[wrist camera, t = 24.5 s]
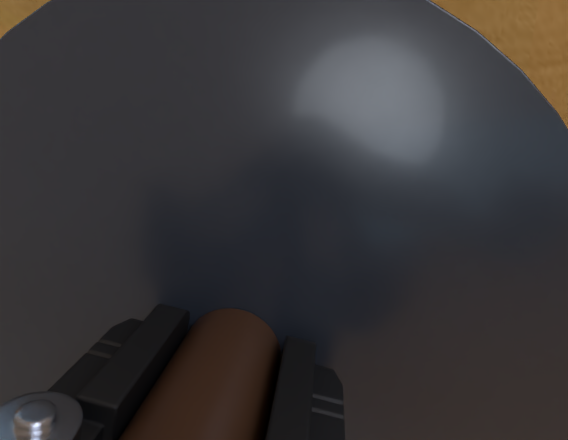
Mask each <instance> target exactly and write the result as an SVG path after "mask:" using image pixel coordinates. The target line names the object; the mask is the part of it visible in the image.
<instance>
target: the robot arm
mask: <svg viewBox="0 0 568 440" xmlns="http://www.w3.org/2000/svg"><path fill="white" fill-rule="evenodd" d="M189 319H190V312H189V311H188V310H184V309H180V308H176V307H172V306H168V305H164V304H158V305H157V306H156V307H155V308H154V309H153V310H152V312H151V313H150V314H149V315H148V316H147V317H146V318H145V319H144V320H143V321H141V320H137V319H133V318H131V319H128V320H126V321H124V322H122V323H119V324H117V325H115V326H113V327H111V328H110V329H109V330H108V331H107V332H106V333H105V334H104V335H103V336H102V337H101V338H100V340H99V342H96V343H95V344H94V345H93V346H92V347H91V348H90V349H89V351H88V353H85V354H84V355H83V356H82V357H81V358H80V359H79V360H78V361H77V362H76V363H75V364H74V365H73V366H72V367H71V368H70V369H69V370H68V371H67V372H66V373H65V374H64V375H63V376H62V377H61V378H60V379H59V380H58V381H57V382H56V383H55V384H54V385H53V386H52V387H51V388H50V389H49V390H48V391H40V392H33V393H28V394H24V395H21V396H18V397H15V398H13V399H10V400H9V401H7V402H5V403H3V404H2V405H0V440H118V439H119V438H120V436H121V435H122V433H123V431H124V430H125V428H126V427H127V425H128V424H129V422H130V421H131V419H132V418H133V416H134V415H135V413H136V411H137V410H138V408H139V407H140V405H141V404H142V402H143V401H144V399H145V398H146V396H147V395H148V393H149V391H150V390H151V388H152V387H153V385H154V384H155V382H156V381H157V379H158V378H159V376H160V375H161V373H162V371H163V370H164V368H165V367H166V365H167V364H168V362H169V361H170V359H171V358H172V356H173V355H174V353H175V351H176V350H177V348H178V347H179V345H180V344H181V342H182V341H183V339H184V338H185V336H186V335H187V331H188V325H189ZM315 353H316V343H315V342H311V341H307V340H303V339H299V338H295V337H291V336H286V340H285V344H284V348H283V352H282V356H281V360H280V365H279V370H278V375H277V380H276V385H275V390H274V395H273V400H272V404H271V409H270V414H269V419H268V424H267V429H266V434H265V439H264V440H345V421H344V405H343V403H344V397H343V385H342V383H341V381H340V380H339V378H338V376H337V374H336V373H335V371H334V369H330V368H326V367H322V366H318V365H315Z"/></svg>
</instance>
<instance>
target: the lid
mask: <svg viewBox="0 0 568 440" xmlns="http://www.w3.org/2000/svg"><path fill="white" fill-rule="evenodd" d="M158 304H164V305H168V306H172V307H176V308H180V309H184V310H188V311H189V312H190V319H189V325H188V331H187V335H186V336H185V338H184V339H183V341H182V342H181V344H180V345H179V347H178V348H177V350H176V351H175V353H174V355H173V356H172V358H171V359H170V361H169V362H168V364H167V365H166V367H165V368H164V370H163V371H162V373H161V375H160V376H159V378H158V379H157V381H156V382H155V384H154V385H153V387H152V388H151V390H150V391H149V393H148V395H147V396H146V398H145V399H144V401H143V402H142V404H141V405H140V407H139V408H138V410H137V411H136V413H135V415H134V416H133V418H132V419H131V421H130V422H129V424H128V425H127V427H126V428H125V430H124V431H123V433H122V435H121V436H120V438H119V439H118V440H264V439H265V434H266V429H267V424H268V419H269V414H270V409H271V404H272V400H273V395H274V390H275V385H276V380H277V375H278V370H279V365H280V360H281V356H282V352H283V348H284V344H285V340H286V336H291V337H295V338H299V339H303V340H307V341H311V342H315V343H316V353H315V365H318V366H322V367H326V368H330V369H334V371H335V373H336V374H337V376H338V378H339V380H340V381H341V383H342V385H343V397H344V403H343V405H344V421H345V440H568V129H567V127H566V125H565V124H564V122H563V120H562V119H561V117H560V116H559V114H558V112H557V111H556V110H555V109H554V108H553V106H552V105H551V104H550V103H549V102H548V101H547V99H546V98H545V97H544V96H543V95H542V93H541V92H540V91H539V90H538V89H537V87H536V86H535V85H534V84H533V83H532V82H531V80H530V79H529V78H528V77H527V76H526V74H525V73H524V72H523V71H522V70H521V69H520V68H519V67H518V66H517V65H516V64H515V63H513V62H512V61H511V60H510V59H509V58H508V57H507V56H505V55H504V54H503V53H502V52H501V51H500V50H499V49H497V48H496V47H495V46H494V45H493V44H492V43H491V42H490V41H488V40H487V39H486V38H485V37H484V36H483V35H482V34H480V33H479V32H478V31H477V30H475V29H474V28H472V27H471V26H469V25H468V24H466V23H464V22H463V21H461V20H460V19H458V18H457V17H455V16H454V15H452V14H450V13H449V12H447V11H446V10H444V9H443V8H441V7H440V6H438V5H436V4H435V3H433V2H432V1H430V0H51V1H49V2H47V3H46V4H44V5H43V6H42V7H40V8H39V9H37V10H36V11H35V12H33V13H32V14H31V15H29V16H28V17H27V18H25V19H24V20H23V21H21V22H20V23H19V24H17V25H16V26H14V27H13V28H12V29H10V30H9V31H8V32H6V33H5V35H4V36H3V37H2V38H1V39H0V405H2V404H3V403H5V402H7V401H9V400H10V399H13V398H15V397H18V396H21V395H24V394H28V393H33V392H40V391H48V390H49V389H50V388H51V387H52V386H53V385H54V384H55V383H56V382H57V381H58V380H59V379H60V378H61V377H62V376H63V375H64V374H65V373H66V372H67V371H68V370H69V369H70V368H71V367H72V366H73V365H74V364H75V363H76V362H77V361H78V360H79V359H80V358H81V357H82V356H83V355H84V354H85V353H88V351H89V349H90V348H91V347H92V346H93V345H94V344H95V343H96V342H99V340H100V338H101V337H102V336H103V335H104V334H105V333H106V332H107V331H108V330H109V329H110V328H111V327H113V326H115V325H117V324H119V323H122V322H124V321H126V320H128V319H131V318H133V319H137V320H141V321H143V320H144V319H145V318H146V317H147V316H148V315H149V314H150V313H151V312H152V310H153V309H154V308H155V307H156V306H157V305H158Z"/></svg>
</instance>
